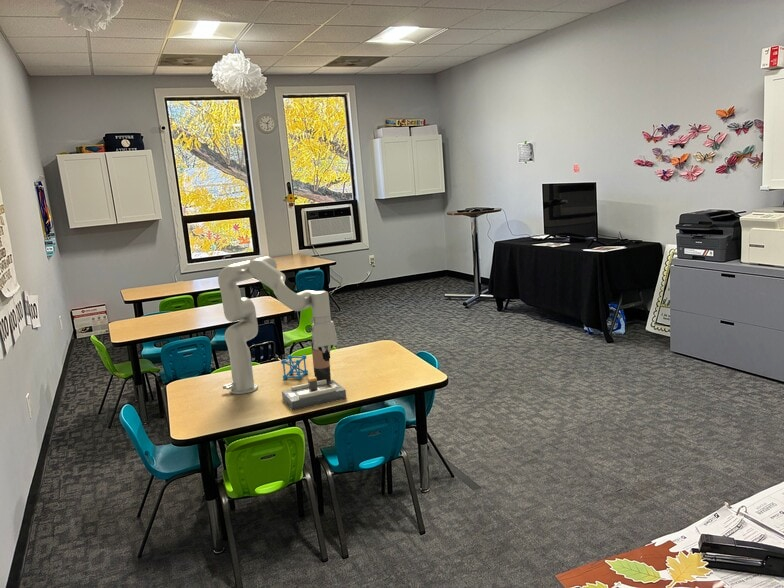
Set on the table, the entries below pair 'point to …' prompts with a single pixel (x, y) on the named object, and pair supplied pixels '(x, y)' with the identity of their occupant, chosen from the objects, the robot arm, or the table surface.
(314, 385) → the switch handle
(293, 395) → the switch panel
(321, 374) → the travel mug
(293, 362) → the molecular structure
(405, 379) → the table surface
